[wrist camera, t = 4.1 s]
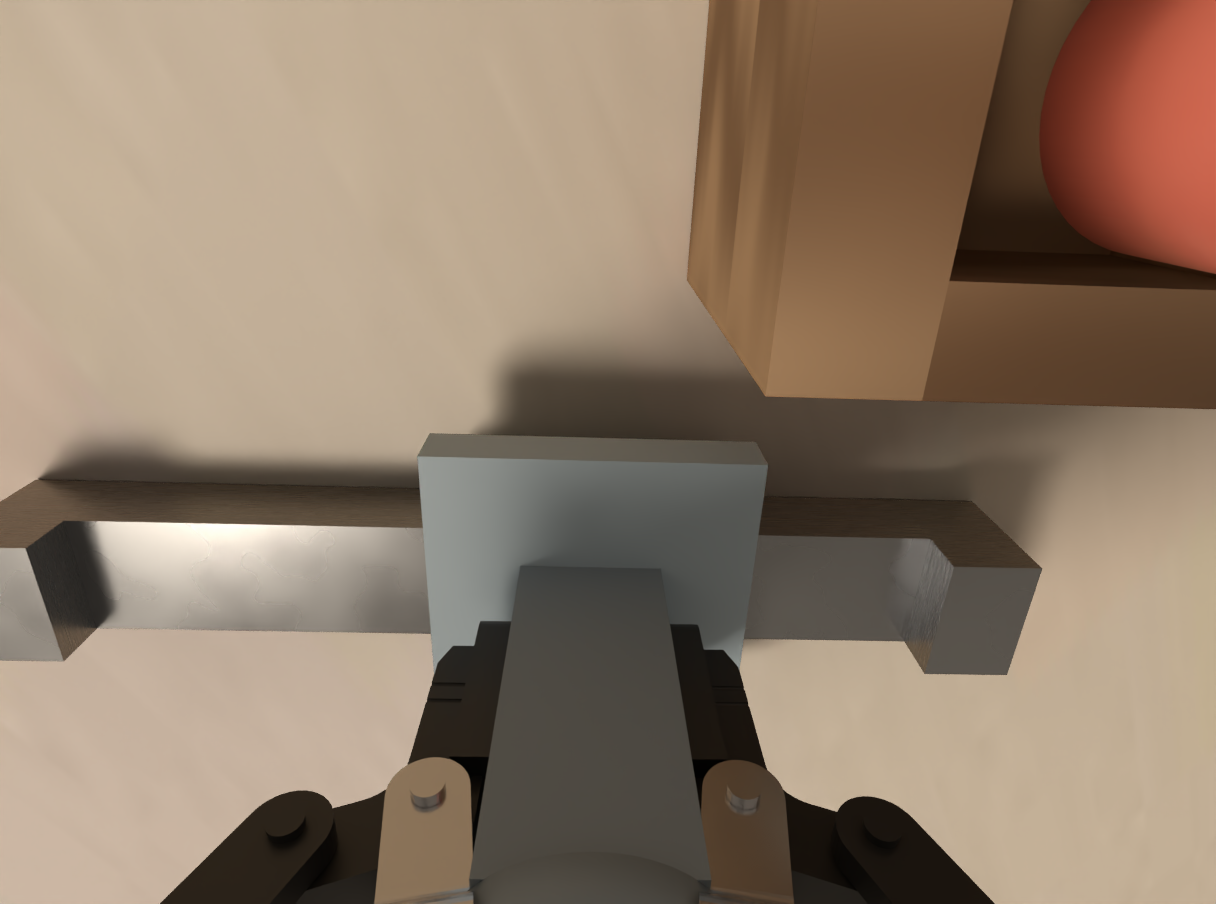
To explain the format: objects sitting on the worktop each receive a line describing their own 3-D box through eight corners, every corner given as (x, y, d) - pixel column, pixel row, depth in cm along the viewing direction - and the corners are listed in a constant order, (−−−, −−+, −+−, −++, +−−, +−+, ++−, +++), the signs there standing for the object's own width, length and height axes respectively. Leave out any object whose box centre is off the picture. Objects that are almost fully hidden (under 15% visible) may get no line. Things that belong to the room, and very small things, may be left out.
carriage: (448, 400, 17) (230, 801, 7) (737, 408, 17) (953, 806, 7) (462, 665, 20) (330, 1209, 10) (706, 668, 21) (823, 1204, 10)
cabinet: (717, -96, 13) (868, -373, 6) (1129, -74, 14) (1742, -314, 6) (685, 297, 16) (761, 425, 9) (1024, 308, 17) (1362, 442, 9)
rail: (36, 479, 18) (-72, 546, 15) (971, 501, 19) (1042, 568, 16) (68, 580, 19) (-27, 660, 16) (945, 596, 20) (1006, 675, 17)
